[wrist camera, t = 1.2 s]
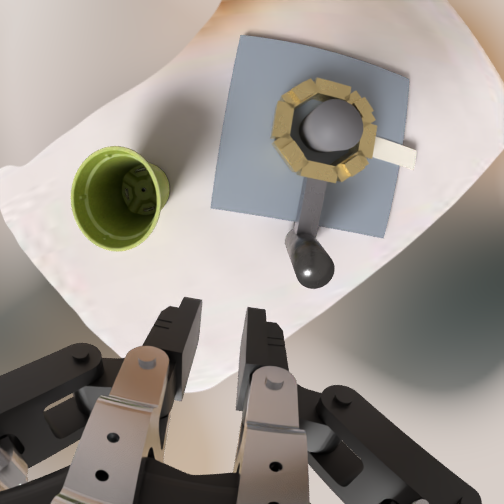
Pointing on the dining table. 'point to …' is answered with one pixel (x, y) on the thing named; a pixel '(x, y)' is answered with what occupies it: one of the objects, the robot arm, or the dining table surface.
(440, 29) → the dining table surface
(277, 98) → the hub board
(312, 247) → the ring with upright handle
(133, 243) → the plant pot
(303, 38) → the dining table surface
